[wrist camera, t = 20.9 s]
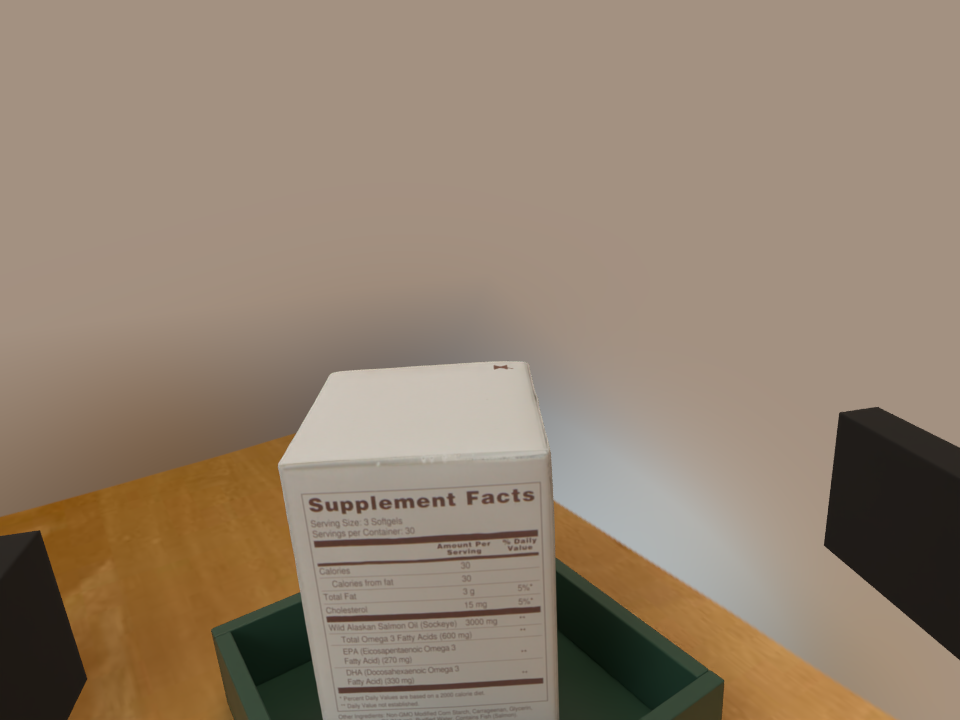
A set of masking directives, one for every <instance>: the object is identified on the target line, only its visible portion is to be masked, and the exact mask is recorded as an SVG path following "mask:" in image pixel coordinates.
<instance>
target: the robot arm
mask: <svg viewBox="0 0 960 720" xmlns="http://www.w3.org/2000/svg"><path fill="white" fill-rule="evenodd" d="M824 546H825V547H826V548H828V549H829V550H830V551H831V552H832V553H833V554H835V555H836V556H837V557H838V558H839V559H841V560H842V561H843V562H844V563H845V564H846V565H848V566H849V567H850V568H851V569H853V570H854V571H855V572H856V573H857V574H858V575H860V576H861V577H862V578H863V579H864V580H866V581H867V582H868V583H869V584H870V585H871V586H873V587H874V588H875V589H876V590H877V591H879V592H880V593H881V594H882V595H883V596H884V597H886V598H887V599H888V600H889V601H890V602H892V603H893V604H894V605H895V606H896V607H898V608H899V609H900V610H901V611H902V612H903V613H905V614H906V615H907V616H908V617H909V618H910V619H912V620H913V621H914V622H915V623H916V624H918V625H919V626H920V627H921V628H922V629H924V630H925V631H926V632H927V633H928V634H930V635H931V636H932V637H933V638H934V639H935V640H937V641H938V642H939V643H940V644H941V645H942V646H944V647H945V648H946V649H947V650H948V651H950V652H951V653H952V654H953V655H954V656H956V657H957V658H958V659H959V660H960V448H959V447H957V446H955V445H953V444H951V443H949V442H947V441H945V440H943V439H941V438H939V437H937V436H935V435H933V434H931V433H929V432H927V431H925V430H923V429H921V428H919V427H916V426H915V425H913V424H911V423H909V422H907V421H905V420H903V419H901V418H899V417H897V416H895V415H893V414H891V413H889V412H887V411H884V410H883V409H880V408H879V407H874V408H868V409H860V410H854V411H847V412H840V413H839V420H838V428H837V437H836V446H835V456H834V464H833V472H832V480H831V489H830V498H829V506H828V515H827V524H826V532H825V541H824ZM86 680H87V677H86V674H85V671H84V667H83V664H82V661H81V658H80V655H79V652H78V649H77V645H76V642H75V639H74V636H73V633H72V630H71V627H70V623H69V620H68V617H67V614H66V611H65V608H64V605H63V601H62V598H61V595H60V592H59V589H58V586H57V583H56V579H55V576H54V573H53V570H52V567H51V564H50V561H49V557H48V554H47V551H46V548H45V545H44V542H43V539H42V536H41V532H40V530H39V531H32V532H26V533H19V534H12V535H5V536H0V720H67V719H68V717H69V715H70V713H71V711H72V709H73V707H74V705H75V703H76V701H77V699H78V697H79V695H80V693H81V691H82V689H83V686H84V684H85V682H86Z"/></svg>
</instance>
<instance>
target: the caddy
mask: <svg viewBox="0 0 960 720" xmlns="http://www.w3.org/2000/svg"><path fill="white" fill-rule="evenodd" d="M555 570H556V612H557V651H558V692H559V720H722V706H723V692H724V680H723V679H722V678H720V677H719V676H718V675H716V674H715V673H713V672H712V671H710V670H708V668H706V667H705V666H703V665H702V664H701V663H699V662H698V661H697V660H695V659H694V658H693V657H691V656H690V655H688V654H687V653H686V652H684V651H683V650H682V649H680V648H679V647H677V646H676V645H675V644H673V643H672V642H671V641H669V640H668V639H667V638H665V637H664V636H662V635H661V634H660V633H658V632H657V631H656V630H654V629H653V628H651V627H650V626H649V625H647V624H646V623H645V622H643V621H642V620H641V619H639V618H638V617H636V616H635V615H634V614H632V613H631V612H630V611H628V610H627V609H625V608H624V607H623V606H621V605H620V604H619V603H617V602H616V601H614V600H613V599H612V598H610V597H609V596H608V595H606V594H605V593H604V592H602V591H601V590H599V589H598V588H597V587H595V586H594V585H593V584H591V583H590V582H588V581H587V580H586V579H584V578H583V577H582V576H580V575H579V574H578V573H576V572H575V571H573V570H572V569H571V568H569V567H568V566H567V565H565V564H564V563H562V562H561V561H560V560H558V559H557V558H556V557H555ZM211 632H212V637H213V641H214V645H215V650H216V654H217V659H218V663H219V667H220V672H221V676H222V680H223V685H224V689H225V692H226V693H225V694H226V698H227V702H228V705H229V707H230V710H231V712H232V715H233V717H234V720H323V717H322V711H321V705H320V700H319V695H318V689H317V683H316V678H315V673H314V667H313V661H312V656H311V650H310V645H309V639H308V634H307V628H306V623H305V617H304V611H303V605H302V599H301V593H297V594H295V595H292V596H290V597H288V598H285V599H283V600H280V601H278V602H275V603H273V604H271V605H268V606H266V607H263V608H261V609H259V610H256V611H254V612H251V613H249V614H246V615H244V616H242V617H239V618H237V619H234V620H232V621H230V622H227V623H225V624H222V625H220V626H217V627H215V628H213V629H212V630H211Z"/></svg>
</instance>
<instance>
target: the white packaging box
mask: <svg viewBox="0 0 960 720" xmlns="http://www.w3.org/2000/svg"><path fill="white" fill-rule="evenodd" d="M278 469H279V473H280V479H281V484H282V489H283V495H284V501H285V507H286V513H287V519H288V523H289V528H290V535H291V541H292V546H293V551H294V556H295V562H296V569H297V575H298V581H299V587H300V593H301V599H302V605H303V611H304V617H305V623H306V628H307V634H308V639H309V645H310V650H311V656H312V661H313V667H314V673H315V678H316V683H317V689H318V695H319V700H320V705H321V711H322V717H323V720H559V692H558V651H557V612H556V570H555V525H554V503H553V483H552V467H551V452H550V447H549V443H548V439H547V435H546V432H545V428H544V424H543V420H542V416H541V412H540V408H539V402H538V397H537V395H536V393H535V389H534V385H533V381H532V376H531V373H530V368H529V364H528V363H527V362H521V361H520V362H519V361H504V362H503V361H501V362H500V361H495V362H477V363H461V364H446V365H430V366H415V367H400V368H387V369H386V368H385V369H367V370H353V371H341V372H334V373H332V374H330V375H329V377H328V379H327V381H326V383H325V384H324V386H323V388H322V390H321V392H320V393H319V395H318V397H317V399H316V400H315V402H314V404H313V406H312V408H311V409H310V411H309V412H308V414H307V416H306V418H305V419H304V421H303V423H302V425H301V426H300V429H299V430H298V432H297V433H296V435H295V437H294V438H293V440H292V442H291V443H290V445H289V447H288V448H287V450H286V452H285V454H284V455H283V457H282V459H281V460H280V462H279V464H278Z"/></svg>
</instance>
